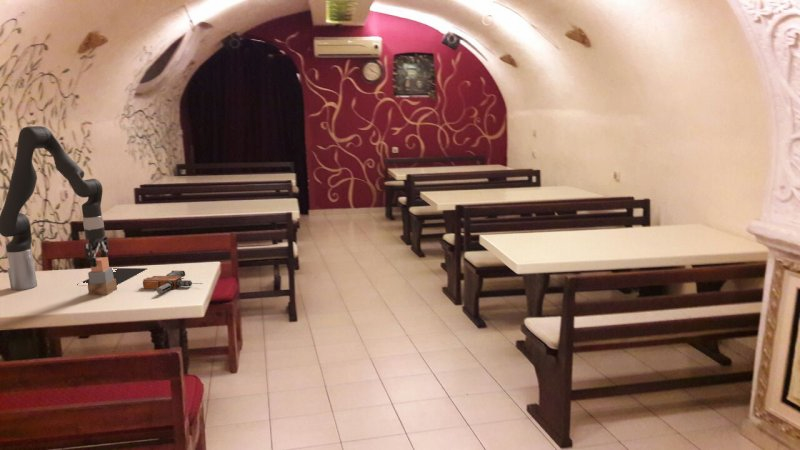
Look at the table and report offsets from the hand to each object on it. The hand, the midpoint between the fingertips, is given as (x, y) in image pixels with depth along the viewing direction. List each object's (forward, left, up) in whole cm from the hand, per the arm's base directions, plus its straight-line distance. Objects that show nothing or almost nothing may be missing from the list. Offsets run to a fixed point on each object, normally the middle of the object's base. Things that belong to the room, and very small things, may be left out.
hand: (99, 264), depth 250 cm
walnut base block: (0, 0, -13) cm, 13 cm away
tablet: (-8, +23, -13) cm, 28 cm away
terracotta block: (0, 0, -3) cm, 3 cm away
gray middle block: (0, 0, -8) cm, 8 cm away
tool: (+29, +8, -13) cm, 33 cm away
